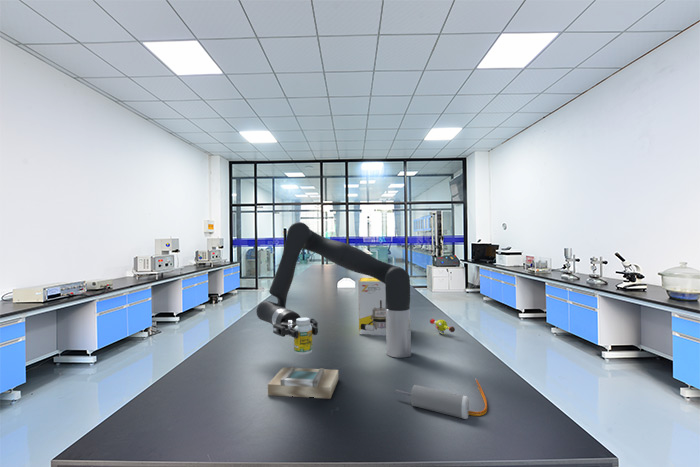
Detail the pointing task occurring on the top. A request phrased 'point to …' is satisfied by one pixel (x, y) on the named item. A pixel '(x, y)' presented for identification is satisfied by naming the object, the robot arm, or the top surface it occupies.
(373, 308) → the packaging box
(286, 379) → the dock
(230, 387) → the top surface
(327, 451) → the top surface
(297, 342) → the supplement bottle
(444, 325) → the toy figure
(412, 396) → the motor
